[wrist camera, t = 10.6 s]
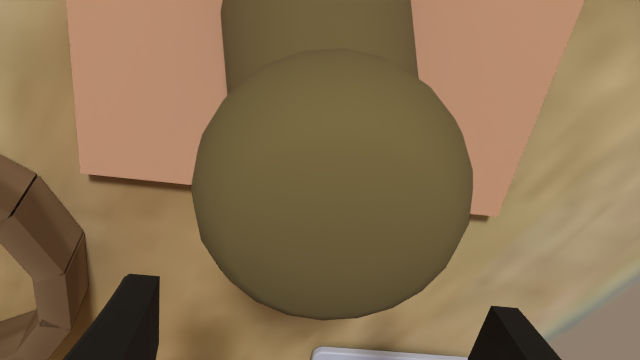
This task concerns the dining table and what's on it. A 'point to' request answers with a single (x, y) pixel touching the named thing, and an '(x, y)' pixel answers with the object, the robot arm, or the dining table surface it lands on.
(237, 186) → the cork
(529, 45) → the coaster
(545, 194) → the dining table surface
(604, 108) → the dining table surface
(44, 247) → the holder ring
